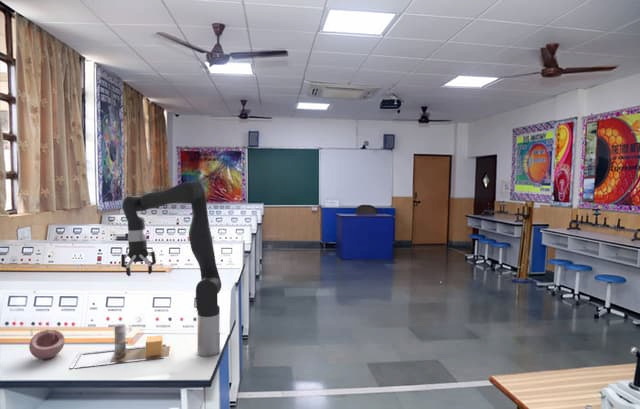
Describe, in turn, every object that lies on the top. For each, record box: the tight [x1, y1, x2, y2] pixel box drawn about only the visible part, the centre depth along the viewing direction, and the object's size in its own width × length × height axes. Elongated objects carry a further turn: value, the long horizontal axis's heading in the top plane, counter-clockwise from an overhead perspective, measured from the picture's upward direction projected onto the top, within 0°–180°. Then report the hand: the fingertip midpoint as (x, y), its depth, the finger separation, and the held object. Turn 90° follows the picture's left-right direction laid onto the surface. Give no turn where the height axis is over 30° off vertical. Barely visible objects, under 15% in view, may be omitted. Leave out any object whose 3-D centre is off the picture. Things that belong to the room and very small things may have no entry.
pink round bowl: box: [28, 329, 66, 360], centre depth 161 cm, size 12×12×11 cm
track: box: [68, 343, 167, 370], centre depth 161 cm, size 34×14×2 cm, turn 108°
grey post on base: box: [109, 323, 171, 363], centre depth 163 cm, size 22×10×14 cm, turn 108°
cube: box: [145, 334, 163, 356], centre depth 165 cm, size 6×6×6 cm
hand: (139, 274), depth 178 cm, fingers open, 8 cm apart
